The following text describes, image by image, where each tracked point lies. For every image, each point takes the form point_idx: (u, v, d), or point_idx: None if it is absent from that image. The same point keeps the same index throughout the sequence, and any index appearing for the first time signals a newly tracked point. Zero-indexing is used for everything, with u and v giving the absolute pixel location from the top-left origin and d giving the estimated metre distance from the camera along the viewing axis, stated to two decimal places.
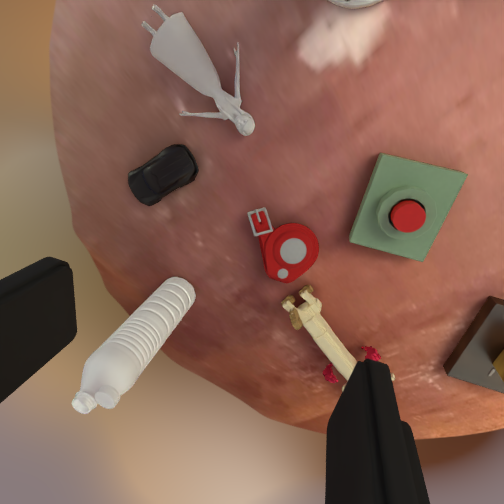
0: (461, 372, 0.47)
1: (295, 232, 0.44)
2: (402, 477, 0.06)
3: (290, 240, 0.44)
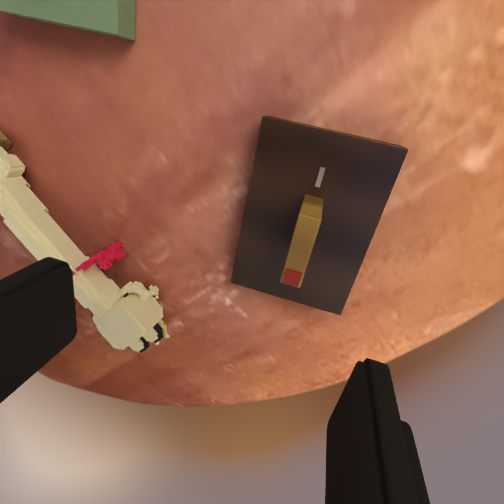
0: (249, 274, 0.27)
1: None
2: (402, 477, 0.06)
3: None
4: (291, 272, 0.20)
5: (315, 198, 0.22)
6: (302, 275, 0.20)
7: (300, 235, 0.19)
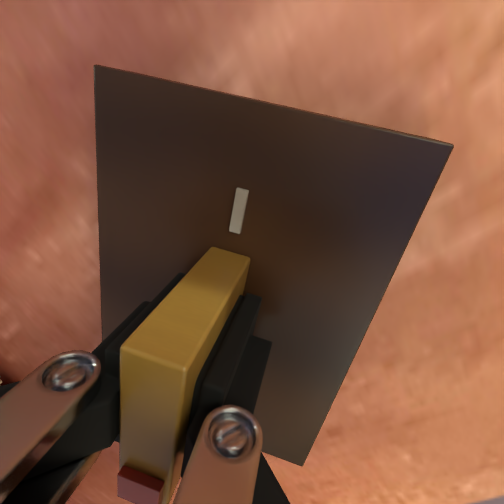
0: None
1: None
2: (228, 359, 0.07)
3: None
4: (131, 482, 0.07)
5: (228, 260, 0.10)
6: (164, 488, 0.07)
7: (138, 402, 0.06)
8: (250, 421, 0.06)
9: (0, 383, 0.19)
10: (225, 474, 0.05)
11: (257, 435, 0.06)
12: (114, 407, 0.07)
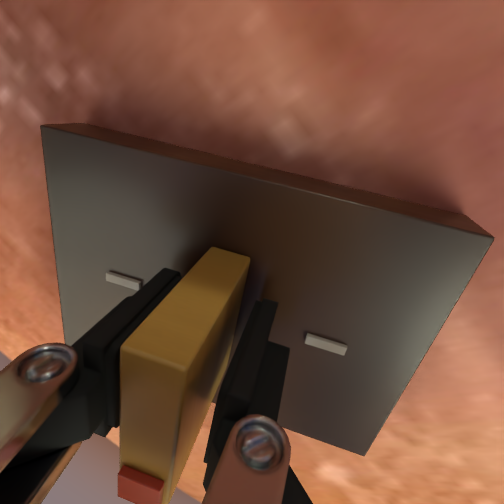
0: (79, 179, 0.10)
1: None
2: (250, 367, 0.07)
3: None
4: (132, 482, 0.07)
5: (228, 259, 0.10)
6: (164, 488, 0.07)
7: (138, 401, 0.06)
8: (278, 433, 0.06)
9: None
10: (252, 486, 0.05)
11: (285, 448, 0.06)
12: (92, 399, 0.07)
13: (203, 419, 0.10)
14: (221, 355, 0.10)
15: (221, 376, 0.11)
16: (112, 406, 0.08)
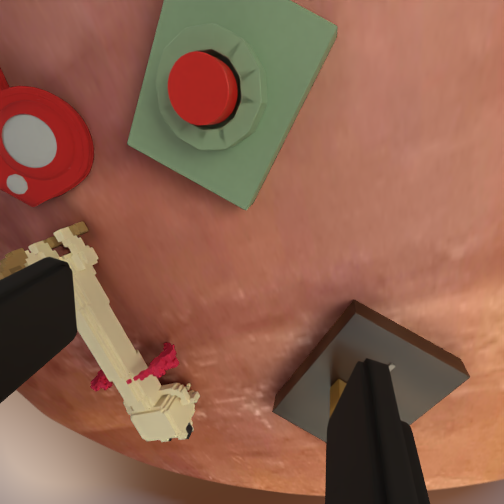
0: (292, 412, 0.29)
1: (37, 106, 0.23)
2: (402, 477, 0.06)
3: (23, 117, 0.23)
4: None
5: (334, 388, 0.26)
6: None
7: None
8: None
9: (189, 388, 0.33)
10: None
11: None
12: None
13: None
14: None
15: None
16: None
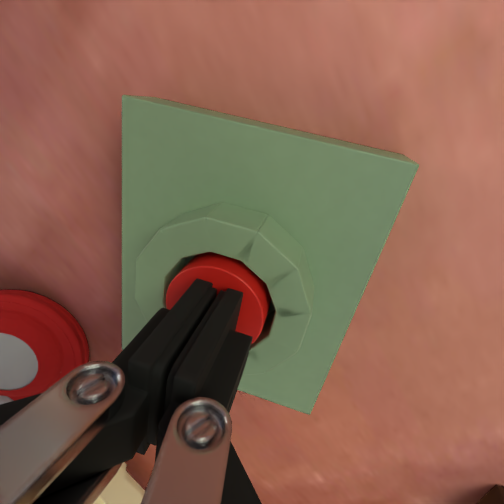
0: None
1: (1, 316, 0.17)
2: (202, 352, 0.07)
3: None
4: None
5: None
6: None
7: None
8: (219, 411, 0.06)
9: None
10: (195, 465, 0.05)
11: (226, 424, 0.06)
12: (137, 419, 0.07)
13: None
14: None
15: None
16: (153, 424, 0.08)
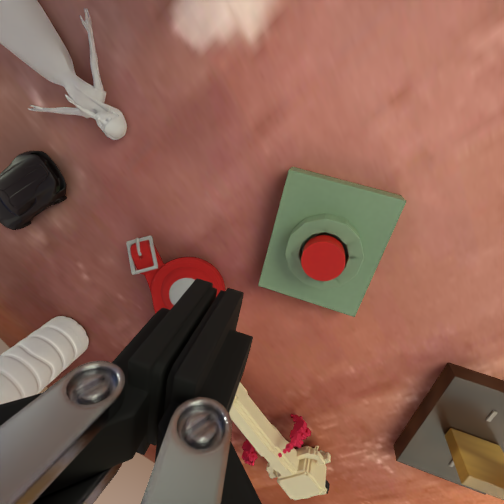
0: (414, 459, 0.35)
1: (189, 270, 0.33)
2: (202, 352, 0.07)
3: (182, 280, 0.33)
4: None
5: (449, 436, 0.32)
6: None
7: (478, 487, 0.28)
8: (219, 411, 0.06)
9: None
10: (195, 465, 0.05)
11: (226, 424, 0.06)
12: (137, 419, 0.07)
13: None
14: (484, 453, 0.30)
15: (500, 452, 0.31)
16: (153, 424, 0.08)
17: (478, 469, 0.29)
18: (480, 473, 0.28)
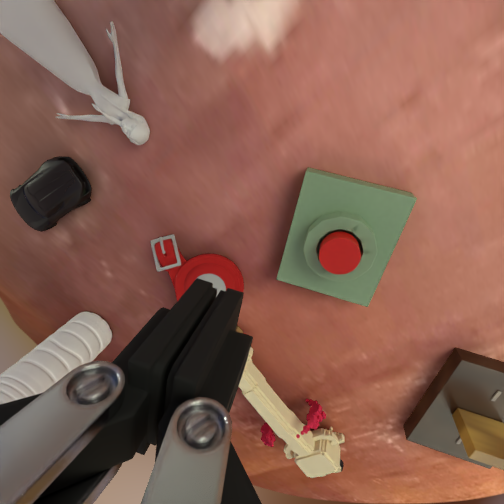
0: (423, 437, 0.38)
1: (210, 266, 0.35)
2: (202, 352, 0.07)
3: (204, 276, 0.35)
4: None
5: (456, 415, 0.35)
6: None
7: (484, 460, 0.31)
8: (219, 411, 0.06)
9: None
10: (195, 465, 0.05)
11: (226, 424, 0.06)
12: (138, 419, 0.07)
13: None
14: (489, 430, 0.33)
15: None
16: (153, 424, 0.08)
17: (484, 444, 0.31)
18: (486, 447, 0.31)
